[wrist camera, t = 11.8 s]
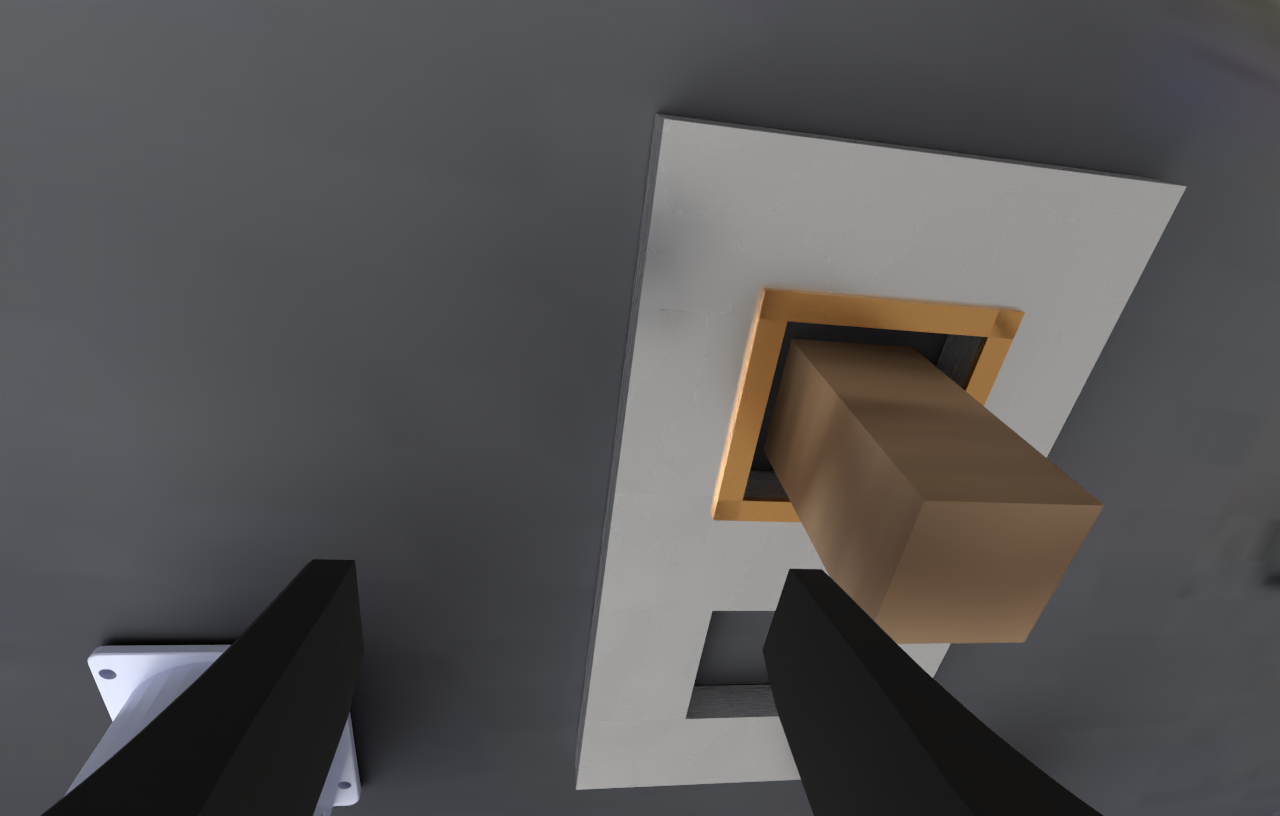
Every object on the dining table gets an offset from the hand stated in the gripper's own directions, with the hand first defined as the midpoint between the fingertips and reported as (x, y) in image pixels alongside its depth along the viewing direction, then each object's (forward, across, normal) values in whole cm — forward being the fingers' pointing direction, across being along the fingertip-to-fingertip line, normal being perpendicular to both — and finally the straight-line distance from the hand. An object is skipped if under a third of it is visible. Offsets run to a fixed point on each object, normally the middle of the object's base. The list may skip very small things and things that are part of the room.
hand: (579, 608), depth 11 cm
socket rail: (+9, -9, +6) cm, 14 cm away
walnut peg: (+9, -9, 0) cm, 13 cm away
